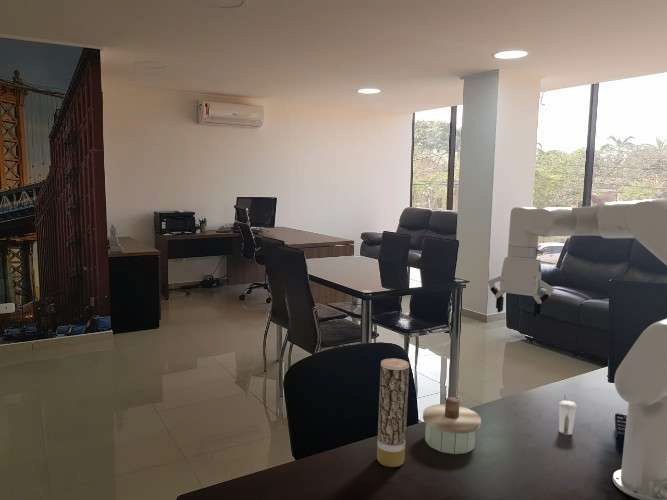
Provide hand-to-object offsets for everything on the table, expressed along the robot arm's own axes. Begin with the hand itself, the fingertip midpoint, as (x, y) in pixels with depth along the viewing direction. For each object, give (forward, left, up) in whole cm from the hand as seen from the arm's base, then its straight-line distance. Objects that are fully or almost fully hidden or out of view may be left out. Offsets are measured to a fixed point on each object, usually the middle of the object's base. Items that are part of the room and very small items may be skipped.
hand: (517, 314), depth 144 cm
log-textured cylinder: (-11, +39, -34) cm, 53 cm away
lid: (-4, +20, -27) cm, 34 cm away
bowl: (-4, +20, -33) cm, 39 cm away
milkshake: (-4, -15, -34) cm, 37 cm away
